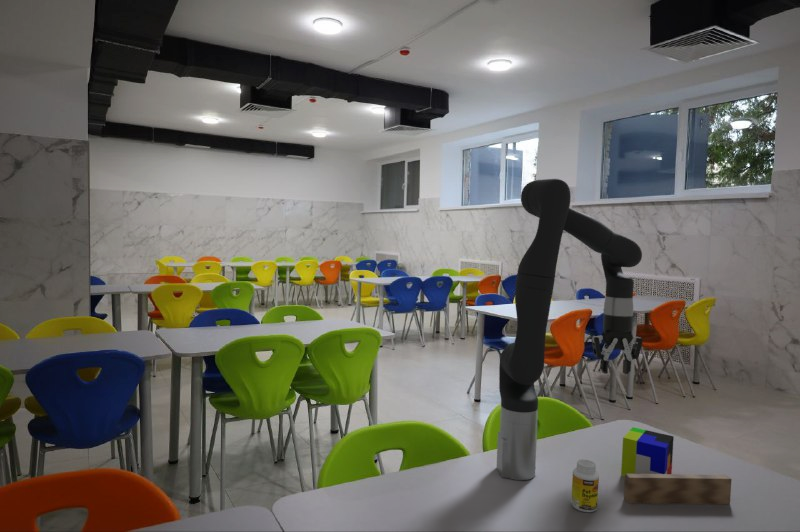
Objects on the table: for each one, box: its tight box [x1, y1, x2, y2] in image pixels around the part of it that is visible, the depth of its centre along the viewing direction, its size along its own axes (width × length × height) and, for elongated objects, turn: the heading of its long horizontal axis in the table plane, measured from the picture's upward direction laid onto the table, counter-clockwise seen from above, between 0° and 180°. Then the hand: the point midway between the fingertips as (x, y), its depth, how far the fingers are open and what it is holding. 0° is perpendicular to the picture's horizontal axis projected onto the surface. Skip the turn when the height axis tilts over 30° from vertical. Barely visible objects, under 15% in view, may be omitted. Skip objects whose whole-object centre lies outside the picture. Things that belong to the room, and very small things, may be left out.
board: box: [623, 473, 732, 505], centre depth 121 cm, size 24×2×6 cm, turn 92°
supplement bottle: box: [570, 458, 600, 513], centre depth 118 cm, size 6×6×10 cm
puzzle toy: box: [620, 427, 675, 477], centre depth 135 cm, size 10×10×10 cm
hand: (615, 373), depth 146 cm, fingers open, 5 cm apart
